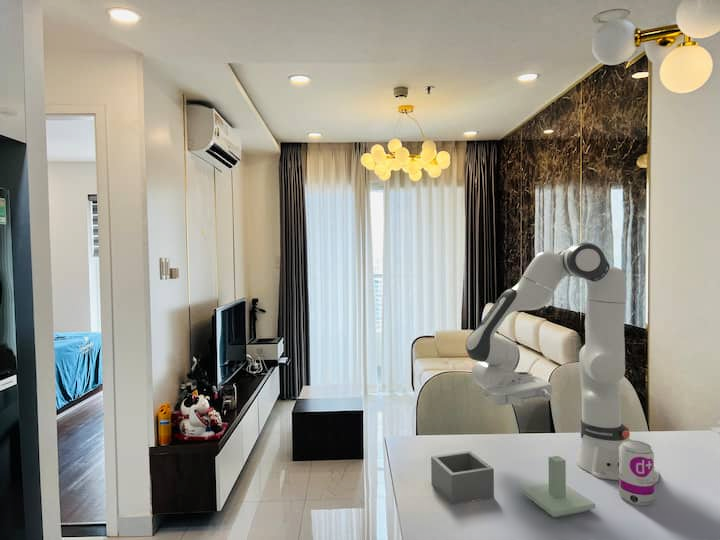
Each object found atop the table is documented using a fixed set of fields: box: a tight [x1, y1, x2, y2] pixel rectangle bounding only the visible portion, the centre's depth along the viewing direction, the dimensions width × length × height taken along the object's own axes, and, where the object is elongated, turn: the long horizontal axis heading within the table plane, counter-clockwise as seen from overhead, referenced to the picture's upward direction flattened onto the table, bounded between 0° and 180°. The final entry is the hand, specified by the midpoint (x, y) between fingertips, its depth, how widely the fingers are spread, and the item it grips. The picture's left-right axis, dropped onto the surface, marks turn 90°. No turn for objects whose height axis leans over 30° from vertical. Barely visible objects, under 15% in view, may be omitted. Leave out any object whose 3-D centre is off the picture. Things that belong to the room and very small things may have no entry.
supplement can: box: [618, 439, 655, 507], centre depth 129 cm, size 8×8×15 cm
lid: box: [521, 455, 596, 518], centre depth 126 cm, size 13×13×13 cm
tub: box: [430, 450, 495, 505], centre depth 135 cm, size 13×13×8 cm
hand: (535, 400), depth 135 cm, fingers open, 8 cm apart
